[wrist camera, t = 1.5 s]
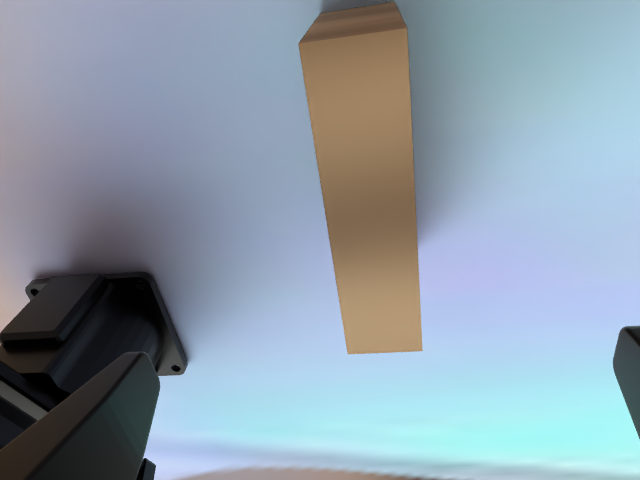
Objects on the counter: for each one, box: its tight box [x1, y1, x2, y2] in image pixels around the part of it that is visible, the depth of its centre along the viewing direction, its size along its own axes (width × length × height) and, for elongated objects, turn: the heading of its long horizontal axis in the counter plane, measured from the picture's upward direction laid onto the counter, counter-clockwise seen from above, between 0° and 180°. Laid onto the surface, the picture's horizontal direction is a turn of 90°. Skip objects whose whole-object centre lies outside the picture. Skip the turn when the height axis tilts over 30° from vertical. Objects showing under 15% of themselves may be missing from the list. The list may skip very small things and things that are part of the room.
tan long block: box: [299, 2, 422, 354], centre depth 16 cm, size 10×2×6 cm, turn 8°
